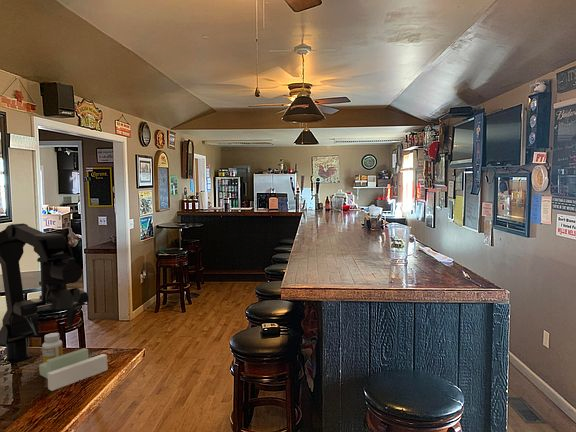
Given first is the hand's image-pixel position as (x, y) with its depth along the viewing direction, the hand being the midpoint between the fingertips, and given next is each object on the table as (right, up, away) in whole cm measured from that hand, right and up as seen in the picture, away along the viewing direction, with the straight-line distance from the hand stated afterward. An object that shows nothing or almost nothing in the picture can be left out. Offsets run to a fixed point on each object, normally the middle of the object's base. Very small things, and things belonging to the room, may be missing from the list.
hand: (53, 331), depth 123 cm
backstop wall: (+9, -13, -3) cm, 16 cm away
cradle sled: (+2, -12, +2) cm, 13 cm away
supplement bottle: (-4, -13, +6) cm, 15 cm away
